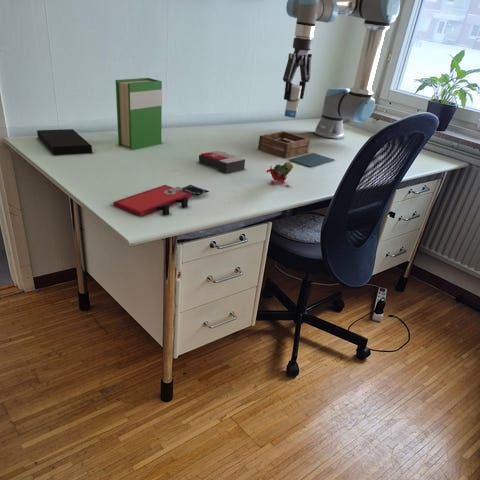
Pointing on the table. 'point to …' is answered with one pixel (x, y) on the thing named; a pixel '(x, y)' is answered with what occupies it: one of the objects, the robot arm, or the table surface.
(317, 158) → the mat
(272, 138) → the crate
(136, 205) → the red board with handle
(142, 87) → the hardback book
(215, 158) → the calculator
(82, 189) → the table surface
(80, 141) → the external hard drive
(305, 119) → the table surface
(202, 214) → the table surface
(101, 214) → the table surface
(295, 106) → the ink box
